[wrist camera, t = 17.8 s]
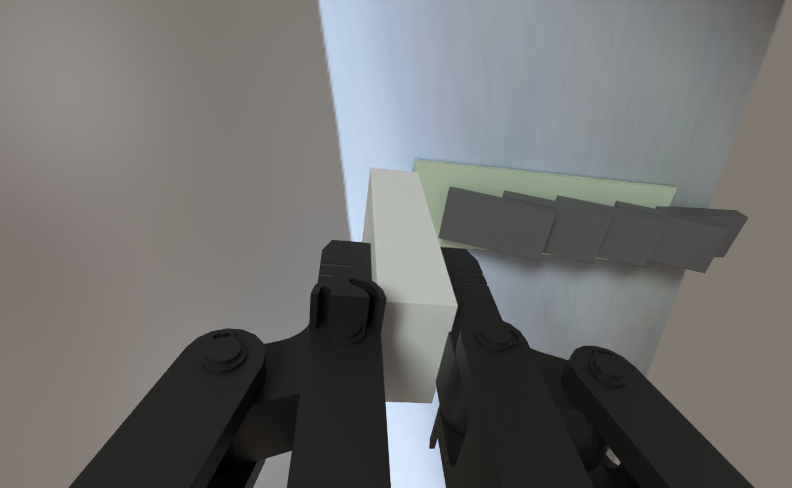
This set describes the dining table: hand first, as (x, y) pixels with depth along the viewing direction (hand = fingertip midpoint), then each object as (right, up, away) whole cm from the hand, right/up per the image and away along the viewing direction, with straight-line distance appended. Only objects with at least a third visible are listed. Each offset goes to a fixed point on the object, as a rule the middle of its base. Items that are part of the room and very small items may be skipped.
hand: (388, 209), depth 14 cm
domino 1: (+5, +2, +29) cm, 29 cm away
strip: (+15, +2, +31) cm, 34 cm away
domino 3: (+16, +1, +30) cm, 34 cm away
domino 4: (+22, +1, +31) cm, 38 cm away
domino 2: (+10, +2, +29) cm, 31 cm away
